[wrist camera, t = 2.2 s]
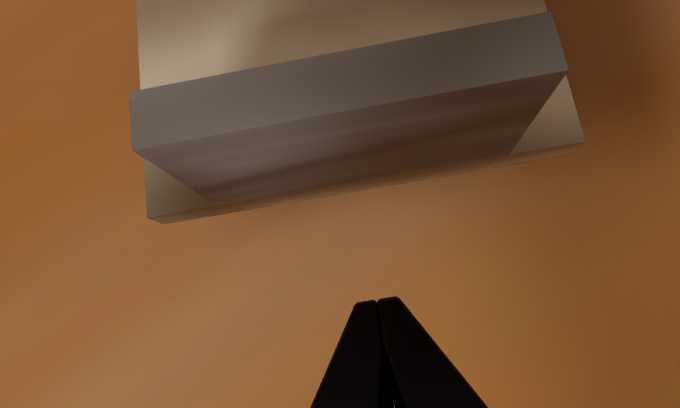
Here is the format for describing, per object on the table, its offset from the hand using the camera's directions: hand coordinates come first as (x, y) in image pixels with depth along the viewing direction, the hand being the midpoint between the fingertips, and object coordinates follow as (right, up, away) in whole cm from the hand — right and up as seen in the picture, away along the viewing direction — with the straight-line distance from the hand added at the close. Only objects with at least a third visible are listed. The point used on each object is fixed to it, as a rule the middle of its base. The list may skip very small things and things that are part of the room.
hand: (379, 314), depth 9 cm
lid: (-1, +8, +6) cm, 10 cm away
